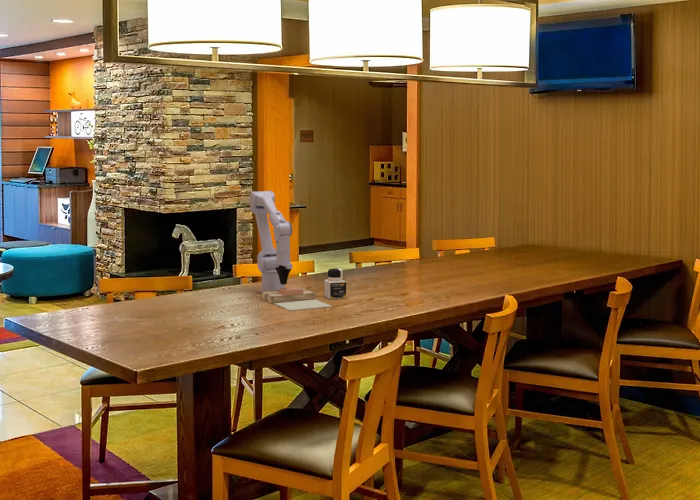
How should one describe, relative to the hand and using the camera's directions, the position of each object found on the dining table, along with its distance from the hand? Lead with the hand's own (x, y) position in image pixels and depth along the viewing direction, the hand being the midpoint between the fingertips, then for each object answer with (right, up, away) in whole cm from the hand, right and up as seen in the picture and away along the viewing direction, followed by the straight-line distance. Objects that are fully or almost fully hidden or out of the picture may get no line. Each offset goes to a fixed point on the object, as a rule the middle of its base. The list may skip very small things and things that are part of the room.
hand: (283, 284), depth 374 cm
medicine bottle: (+21, -6, +1) cm, 22 cm away
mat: (+9, -8, -17) cm, 20 cm away
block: (+4, -4, -7) cm, 8 cm away
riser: (+2, -6, -3) cm, 7 cm away
